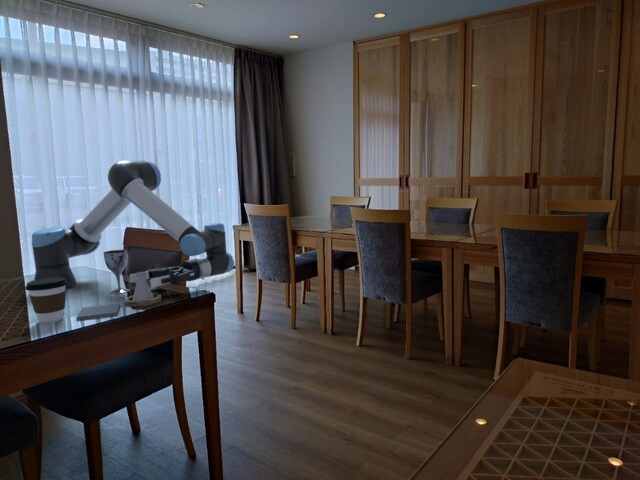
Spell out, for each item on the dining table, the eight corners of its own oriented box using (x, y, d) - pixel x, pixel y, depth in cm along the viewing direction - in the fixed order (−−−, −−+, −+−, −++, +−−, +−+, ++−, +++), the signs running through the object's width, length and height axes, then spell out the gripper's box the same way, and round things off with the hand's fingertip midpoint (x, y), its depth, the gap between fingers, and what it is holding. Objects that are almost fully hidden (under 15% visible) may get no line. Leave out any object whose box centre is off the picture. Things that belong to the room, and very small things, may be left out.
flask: (147, 305, 153) (144, 274, 152) (127, 304, 154) (124, 275, 153) (159, 299, 160) (156, 270, 159) (139, 299, 161) (136, 270, 160)
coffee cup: (74, 320, 139) (69, 280, 138) (31, 328, 133) (26, 287, 131) (69, 312, 148) (64, 275, 146) (28, 320, 142) (23, 281, 140)
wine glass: (128, 293, 171) (124, 252, 169) (105, 295, 170) (100, 253, 168) (133, 288, 179) (129, 249, 177) (111, 289, 177) (106, 250, 175)
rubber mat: (82, 310, 149) (82, 307, 149) (120, 306, 153) (119, 303, 153) (76, 320, 139) (76, 317, 139) (117, 315, 142) (116, 312, 142)
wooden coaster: (126, 299, 161) (125, 295, 161) (161, 295, 164) (161, 291, 164) (123, 308, 150) (123, 303, 150) (161, 303, 154) (161, 299, 153)
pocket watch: (142, 288, 177) (139, 262, 175) (165, 286, 179) (163, 260, 178) (141, 293, 169) (138, 266, 168) (165, 290, 172) (163, 263, 170)
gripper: (217, 283, 164) (161, 297, 148) (177, 275, 180) (123, 287, 164) (215, 262, 163) (159, 273, 147) (175, 256, 179) (121, 266, 163)
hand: (140, 280), depth 155 cm, fingers open, 13 cm apart
